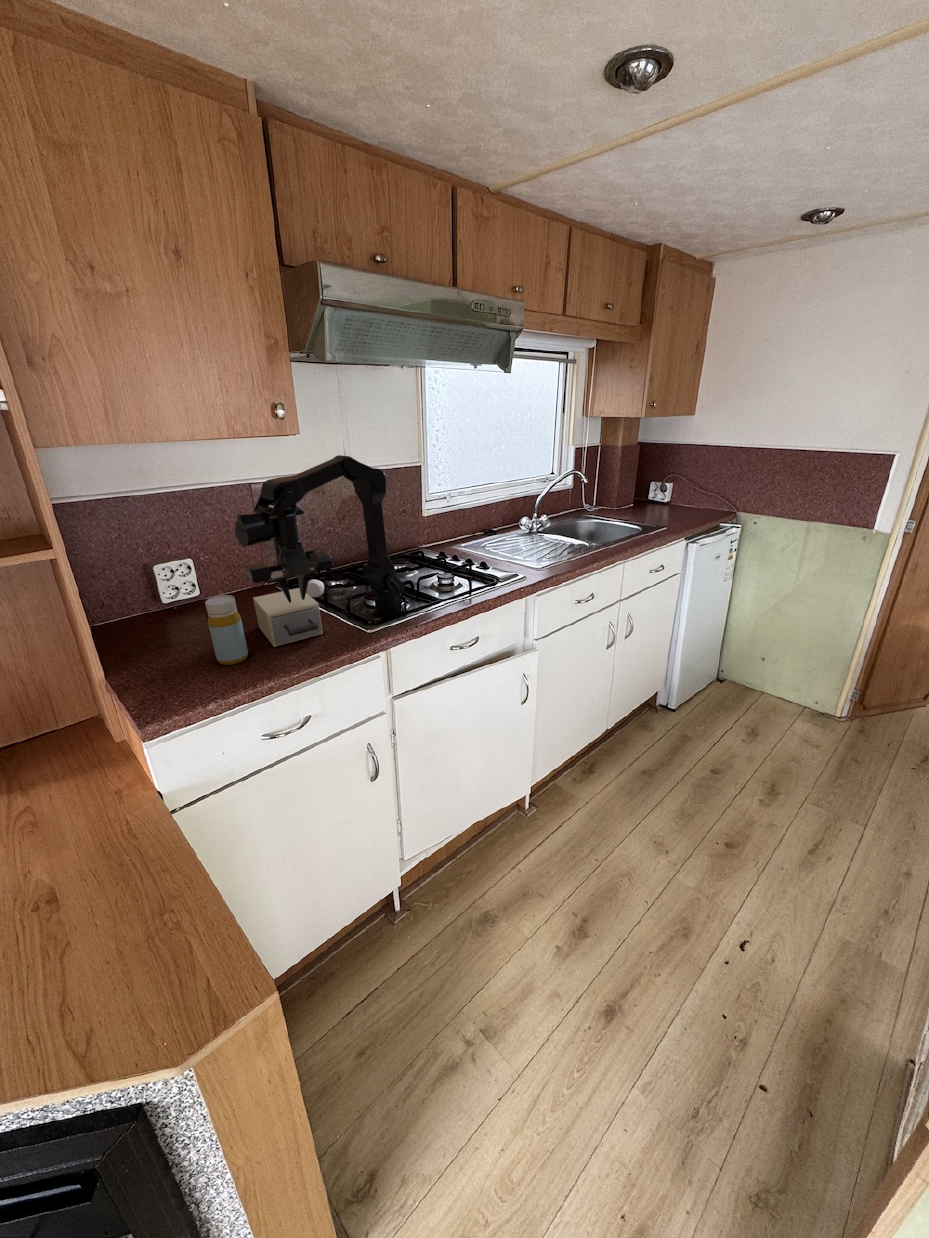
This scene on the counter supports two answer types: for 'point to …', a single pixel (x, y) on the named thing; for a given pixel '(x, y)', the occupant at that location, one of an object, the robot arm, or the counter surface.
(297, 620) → the grey drawer with handle
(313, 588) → the garlic bulb
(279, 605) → the small drawer cabinet
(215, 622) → the bottle
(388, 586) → the robot arm
